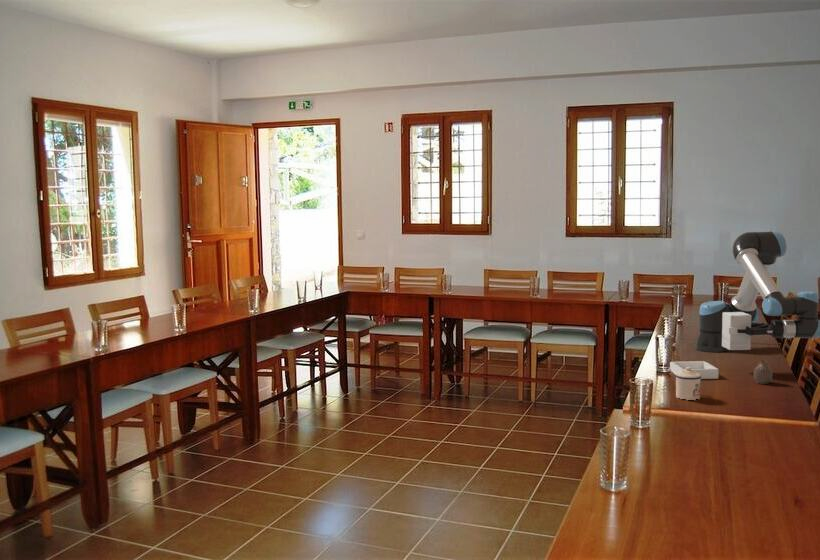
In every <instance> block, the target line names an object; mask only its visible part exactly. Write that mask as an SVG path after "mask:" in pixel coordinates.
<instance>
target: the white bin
mask: <svg viewBox="0 0 820 560" xmlns="http://www.w3.org/2000/svg"><path fill="white" fill-rule="evenodd" d="M686 367H690V368H691V370H693V371H695V372H697V373H699V374H700V375H701V380H706V379H707V380H708V379H709V380H712V379H715V380H717V379H718V380H719V368H717V367H716V366H714V365H713V364H711V363H708V362H707V361H705V360H704V361H703V360H696V361H693V360H691V361H669V370H670V369H671V371H672V372H673V373H674V374H673V373H672V372H671V371H670V372H671V373H672V374H673V375H675V376H676V373H677V372H681V371H683V370H686Z"/></svg>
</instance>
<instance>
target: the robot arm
mask: <svg viewBox="0 0 820 560" xmlns="http://www.w3.org/2000/svg"><path fill="white" fill-rule="evenodd" d="M786 252H787V242H786V238H785V236H784V235H783V234H782V233H781V232H779V231H772V230H769V231H748V232H744V233H742V234H740V235H739V236H737V237H736V239H735V240H734V242H733V245H732V255H733V258H734V260H735V261H736V263H737V264H739V265H741V267H742V268H743V270H744V271H745V272H744V276H743V278H742V281H741V284H740V286H739V288H738V291H737V293H736V295H734V296H733V297H732V298H731V300H730V302H729V303H726V302H725V301H723V300H712V301H706V302H703V303H701V304H700V306H699V312H698V313H699V327H698V328H699V330H698V331H699V334H698V336H697V339H696V341H695V347H694V348H695V350H697V351H701V352H707V353H708V352H709V353H723V352H728V351H729V349H727V348H725V347H723V346H722V315H723V312H744V313H746V314H749V315H751V328H749V327H747V326H746V328H745V327H729V331H728V334H745V333H746V334H747V335H748V334H749V335H751V336H762V335H763V336H765V335H767V336H771V338H775V339H776V338H777V339H781V338H783V339H785V338H786V339H788V340H791V338H792V339H794V338H795V339H818V338H820V319H818V311H819V294H818V293H817V292H816V291H808V290H806V291H805V290H804V291H802V290H801V291H798V292H797V296H791V297H790V296H786V297H785V296H784V295H783V293H782V292H781V290H780V288H779V287H778V285H777V284H776V282H775V280H774V279H773V277H772V275H770V273H769V272H768V271H769V269H770V266H772V265H774V264H776V262H777V261H776V260H777V259H778V258H781V257H783V256H785V254H786ZM758 295H759V296H760V297H761V298H762V303H761V308H762V312H763V314H764V315H766V316H767V317H779V316H780V317H781V316H783V317H784V316H796V317H797V318H796V319H782V320H781V319H772V320H771V321H770V323H769V324H768V323H766V322H765V323H764V322H757V321H758V319H759V308H758V306H757V303H756V300H757V298H758Z"/></svg>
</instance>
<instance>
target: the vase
mask: <svg viewBox="0 0 820 560" xmlns="http://www.w3.org/2000/svg"><path fill="white" fill-rule="evenodd" d="M753 378H754V381H755V382H756V383H757V384H759V385H767V384H770V383H771V381H772V380H773V369H772V368H771V366H770V365H769V364H768V362H767V361H766V360H760V361H759V363H758V364H756V366H755V367H754V369H753Z"/></svg>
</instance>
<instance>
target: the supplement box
mask: <svg viewBox="0 0 820 560" xmlns="http://www.w3.org/2000/svg"><path fill="white" fill-rule="evenodd" d="M746 326H747V327H749V328H751V315H749V314H746V313H744V312H723V315H722V346H723V347H725V348H727V349H728V351H748V350H749V351H751V342H752V339H751V337H752V335H749V334H748V335H747V334H746V333H745V334H728V331H729V327H745V328H746Z"/></svg>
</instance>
